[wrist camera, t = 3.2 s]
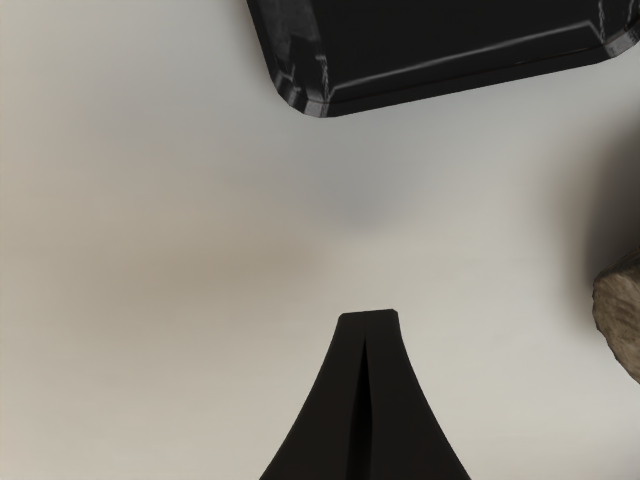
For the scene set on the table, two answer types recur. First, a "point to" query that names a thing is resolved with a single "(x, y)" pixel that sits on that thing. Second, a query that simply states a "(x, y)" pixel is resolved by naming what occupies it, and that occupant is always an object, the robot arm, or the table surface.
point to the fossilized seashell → (620, 310)
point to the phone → (428, 46)
